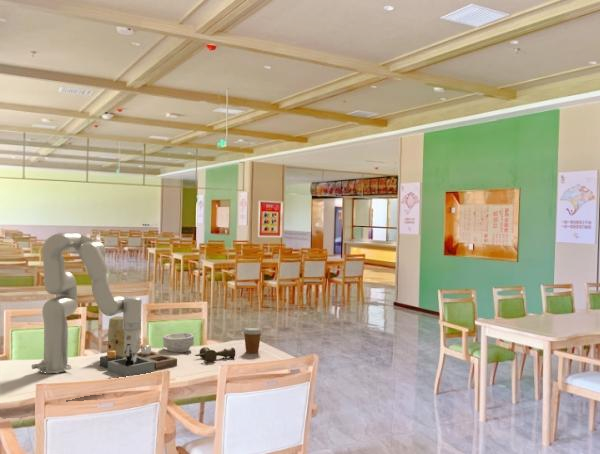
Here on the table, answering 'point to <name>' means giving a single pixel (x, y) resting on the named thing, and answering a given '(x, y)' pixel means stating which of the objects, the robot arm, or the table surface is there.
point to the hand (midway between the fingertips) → (130, 367)
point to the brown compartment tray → (160, 360)
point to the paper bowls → (178, 342)
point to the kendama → (215, 354)
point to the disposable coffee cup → (252, 339)
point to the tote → (131, 366)
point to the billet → (134, 358)
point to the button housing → (105, 360)
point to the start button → (111, 354)
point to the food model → (116, 336)
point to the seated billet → (145, 350)
